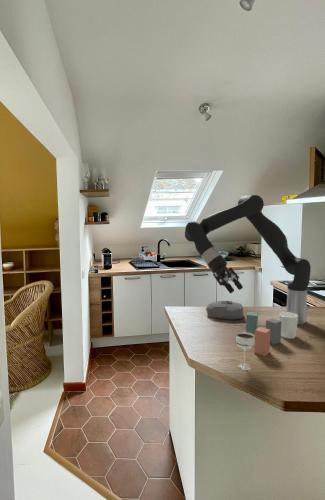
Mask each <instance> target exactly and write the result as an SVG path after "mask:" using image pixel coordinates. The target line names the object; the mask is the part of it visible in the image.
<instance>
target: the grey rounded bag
mask: <svg viewBox="0 0 325 500" xmlns="http://www.w3.org/2000/svg"><path fill="white" fill-rule="evenodd" d="M205 311H206V315H207V316H208V317H210V318H214V319H219V320H242V319H243V316H244V307H243V305H242V303H239V302H235V301H233V300H218V301H212V302H210V303H209V304H208V305H207V306H206V308H205Z"/></svg>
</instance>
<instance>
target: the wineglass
mask: <svg viewBox="0 0 325 500" xmlns="http://www.w3.org/2000/svg"><path fill="white" fill-rule="evenodd" d="M235 335H236V336H235V343H236V345H237V346H238V348H240V349H241V350H243V363H238V364H237V368H238V367H239V368H240V370H242V371H251V369H252V366H251V365H250V364H248V363H246V358H247V357H246V355H247V351H248V350H250V349H252V348H254V344H255V335H254V334H253V333H250V332H246V330H242V331H237V332H235ZM239 368H238V369H239Z"/></svg>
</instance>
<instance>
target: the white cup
mask: <svg viewBox="0 0 325 500" xmlns="http://www.w3.org/2000/svg"><path fill="white" fill-rule="evenodd" d="M278 320H279V321H281V338H284V339H288V340H290V339H296V335H297V328H298V324H297V321H298V315H297V314H294V313H290V312H286V311H282V312H281V311H280V312H279V313H278Z"/></svg>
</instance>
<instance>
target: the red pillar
mask: <svg viewBox="0 0 325 500" xmlns="http://www.w3.org/2000/svg"><path fill="white" fill-rule="evenodd" d="M254 339H255V344H254V346H253V348H254V350H253V353H254V354H256V355H259V356H263V357H266V356H267V355H269V353H270V348H271V345H270V344H271V343H270V329H266V327H261V326H258V328H257V329H256V330H255V338H254Z"/></svg>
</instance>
